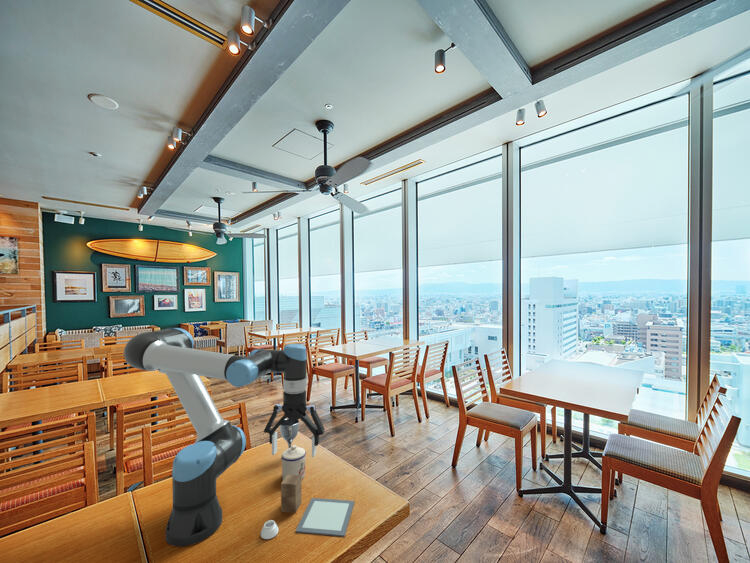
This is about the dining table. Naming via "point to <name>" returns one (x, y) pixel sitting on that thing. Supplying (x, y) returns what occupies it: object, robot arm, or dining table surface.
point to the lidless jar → (269, 530)
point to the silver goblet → (289, 430)
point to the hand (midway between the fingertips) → (294, 454)
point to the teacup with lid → (293, 462)
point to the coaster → (326, 517)
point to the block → (291, 493)
